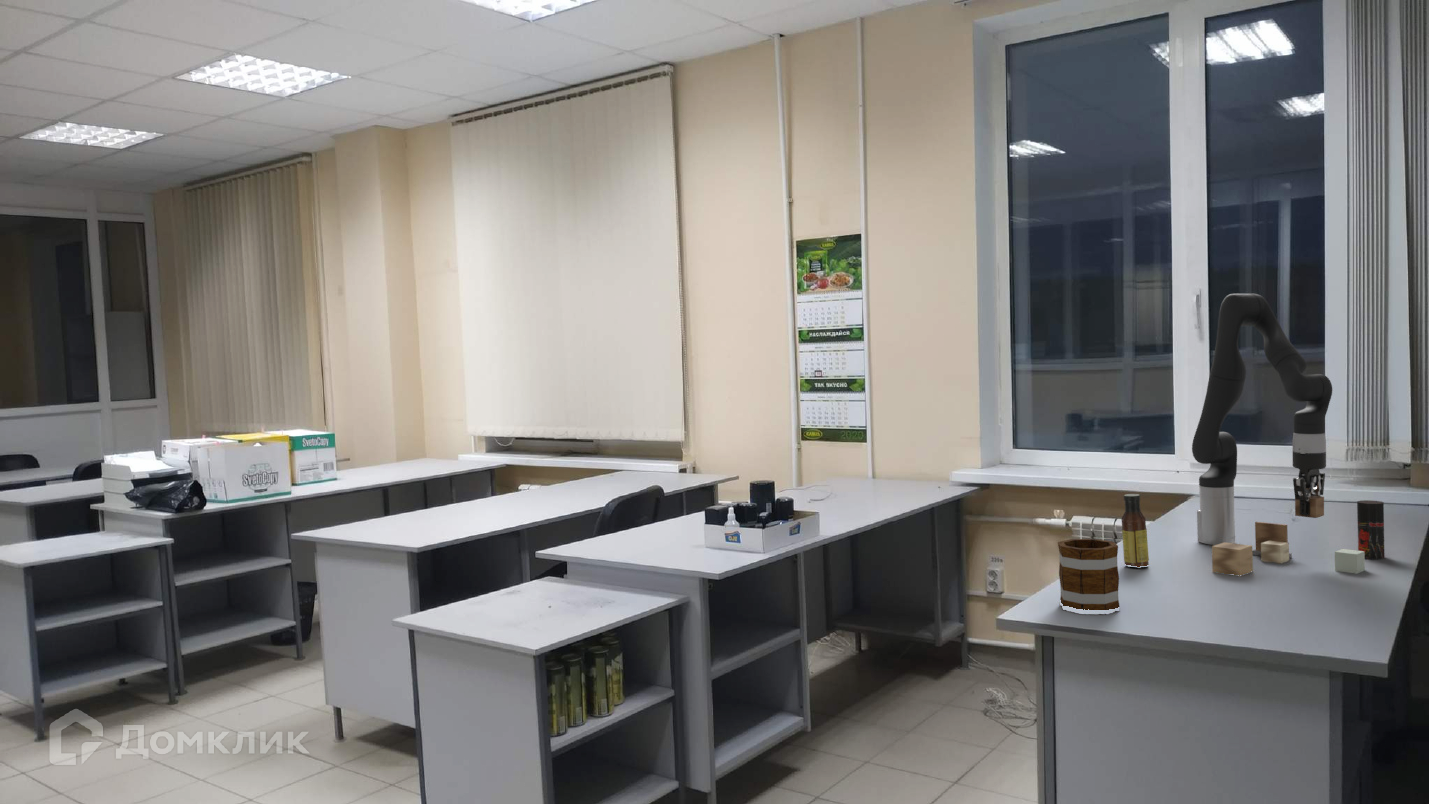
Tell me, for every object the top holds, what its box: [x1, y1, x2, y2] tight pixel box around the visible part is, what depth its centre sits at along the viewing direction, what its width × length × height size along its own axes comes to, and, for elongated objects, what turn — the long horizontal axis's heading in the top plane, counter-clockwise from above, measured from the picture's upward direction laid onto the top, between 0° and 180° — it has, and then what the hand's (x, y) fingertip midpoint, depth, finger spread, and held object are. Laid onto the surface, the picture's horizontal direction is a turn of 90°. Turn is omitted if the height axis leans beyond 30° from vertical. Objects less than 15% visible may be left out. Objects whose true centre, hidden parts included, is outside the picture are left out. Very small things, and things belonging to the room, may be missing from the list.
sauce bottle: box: [1121, 493, 1150, 567], centre depth 260 cm, size 6×6×20 cm
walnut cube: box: [1294, 495, 1325, 519], centre depth 252 cm, size 5×5×5 cm
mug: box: [1057, 538, 1120, 610], centre depth 224 cm, size 20×14×15 cm
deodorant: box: [1356, 499, 1386, 560], centre depth 258 cm, size 6×6×15 cm
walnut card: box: [1252, 521, 1292, 559], centre depth 265 cm, size 9×3×9 cm, turn 37°
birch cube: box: [1260, 540, 1290, 564], centre depth 259 cm, size 5×5×5 cm
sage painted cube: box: [1334, 548, 1366, 574], centre depth 245 cm, size 5×5×5 cm
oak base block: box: [1211, 542, 1254, 577], centre depth 249 cm, size 7×7×7 cm
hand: (1309, 513), depth 252 cm, fingers closed on walnut cube, 5 cm apart
